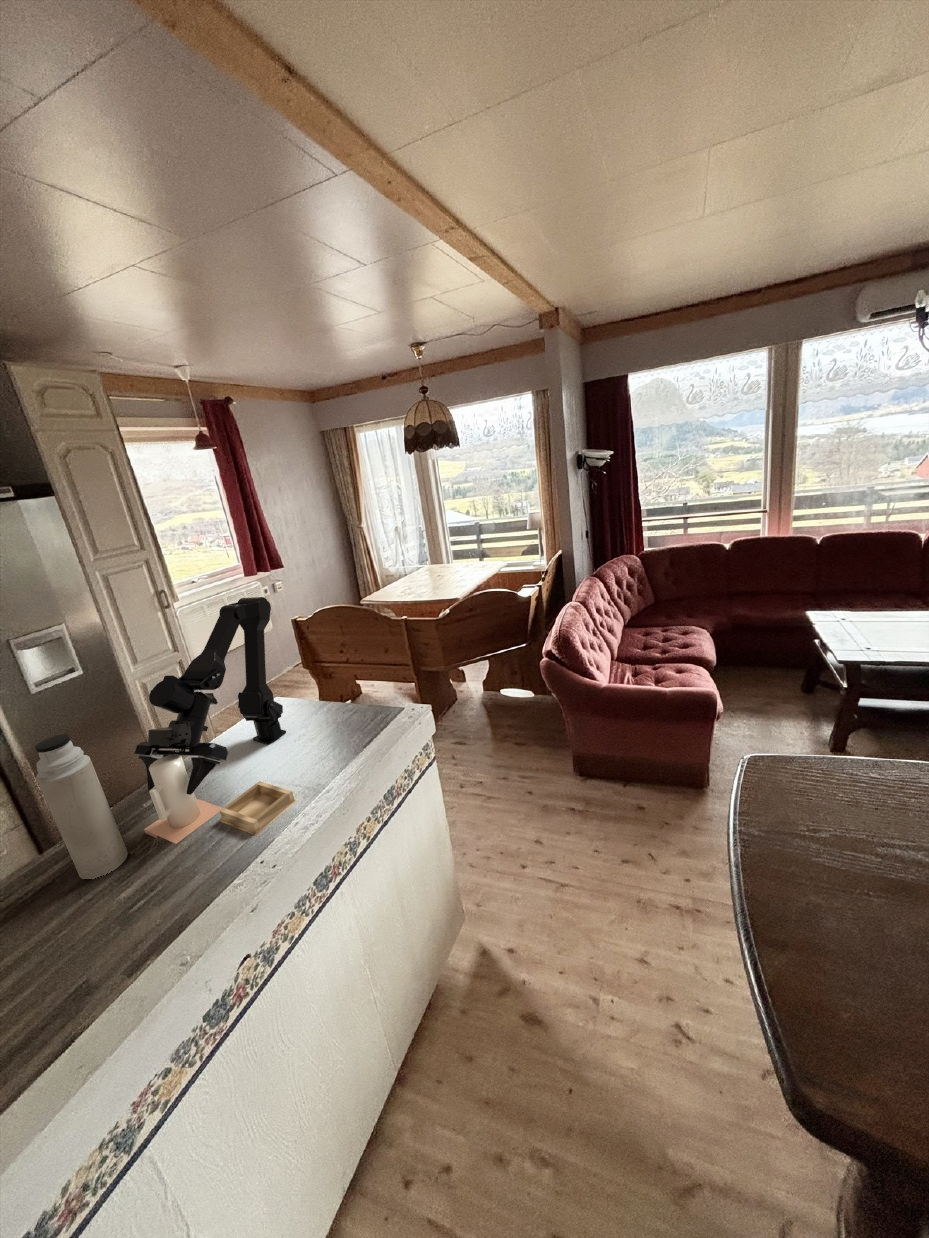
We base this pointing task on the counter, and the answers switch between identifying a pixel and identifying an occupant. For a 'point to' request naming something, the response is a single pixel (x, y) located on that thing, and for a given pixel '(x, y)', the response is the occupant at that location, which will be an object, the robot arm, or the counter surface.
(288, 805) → the holder
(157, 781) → the jug
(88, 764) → the thermos bottle
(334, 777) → the counter surface
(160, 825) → the tile
